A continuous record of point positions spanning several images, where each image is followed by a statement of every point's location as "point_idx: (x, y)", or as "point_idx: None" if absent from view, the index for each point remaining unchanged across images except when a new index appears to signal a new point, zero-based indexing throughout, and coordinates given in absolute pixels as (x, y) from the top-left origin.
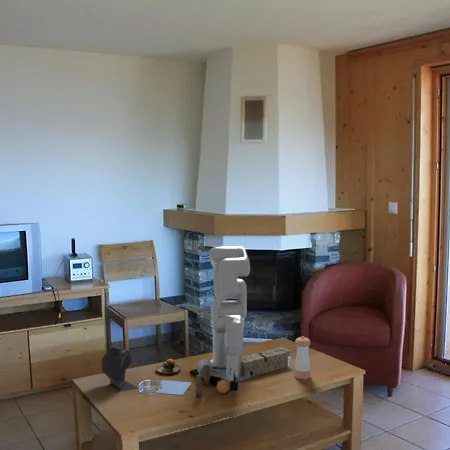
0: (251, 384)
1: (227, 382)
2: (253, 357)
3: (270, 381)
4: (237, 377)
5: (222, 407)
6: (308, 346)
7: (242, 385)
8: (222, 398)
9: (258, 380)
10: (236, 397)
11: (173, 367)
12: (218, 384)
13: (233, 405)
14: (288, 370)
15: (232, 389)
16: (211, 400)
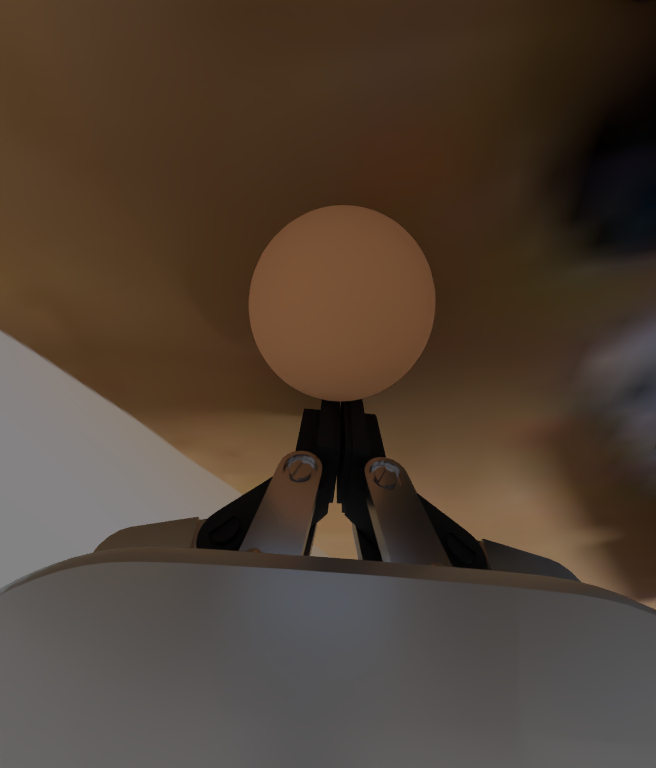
0: (498, 481)
1: (335, 399)
2: None
3: (518, 548)
4: (359, 558)
5: (28, 333)
6: None
7: (494, 436)
8: (203, 309)
9: (557, 509)
10: (262, 414)
11: None
12: (278, 247)
13: (119, 406)
14: (638, 594)
15: (304, 411)
16: (97, 182)
